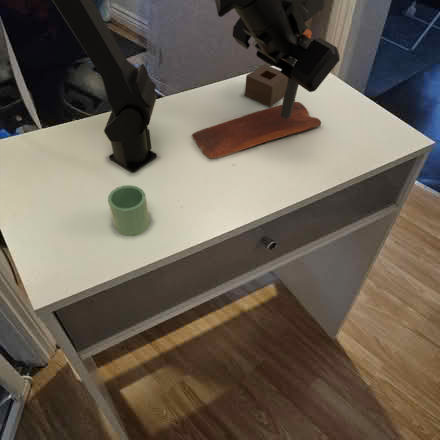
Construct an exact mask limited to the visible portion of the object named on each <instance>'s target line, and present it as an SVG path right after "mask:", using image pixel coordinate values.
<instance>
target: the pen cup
mask: <svg viewBox="0 0 440 440" xmlns="http://www.w3.org/2000/svg"><path fill="white" fill-rule="evenodd" d="M146 195H147V194H146V193H145V191H144V190H143V189H142V188H141V187H139V186H136V185H130V184H129V185H121V186H117V187H116V188H114V189H112V190H111V191H110V192H109V194H108V196H107V203H108V206H109V210H110V214H111V218H112V222H113V225H114V228H115V230H116V231H117V232H118V233H119V234H121V235H124V236H127V237H133V236H138V235H140V234H142V233H145V231H146V230H147V229H148V228H149V226H150V213H149V208H148V203H147V196H146Z"/></svg>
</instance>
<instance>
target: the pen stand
mask: <svg viewBox="0 0 440 440" xmlns="http://www.w3.org/2000/svg"><path fill="white" fill-rule="evenodd" d="M280 71H281V69H279V68H276V67H274V66H271V65H269V64H262V65H261V66H259V67H257V68H256V69H254V70H252V71H251V72H249V73H247V74H246V75H245V86H244V97H246V98H248V99H250V100H253V101H254V102H257V103H259V104H262V105H264V106H266V107H268V108H271V107H273V106H274V105H275V104H276V103H278V102H279V101H280V100H281V99H284V95H285V90H286V86H287V81H288V77H286V76H285V75H284V74H282V73H281V72H280Z"/></svg>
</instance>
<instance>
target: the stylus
mask: <svg viewBox="0 0 440 440" xmlns="http://www.w3.org/2000/svg"><path fill="white" fill-rule="evenodd" d="M312 33H313V32H312V30H310V29H308V28H307V29H306V30H305V32H304V33H303V34H302V35H305V36H307V37H308V38H310V39H311V37H312ZM298 36H300V35H298ZM296 45H297V44H296ZM299 86H300V85H299V84H298V83H297V82H296V81H295V80H291V79H289V78H288V81H287V86H286V90H285V95H284V97H283V100H282V104H281V105H282V109H281V113H280V116H281V117H282V118H286V119H288V118H290V117H291V114H292V110H293V106H294V102H296V97H297V94H298V88H299Z"/></svg>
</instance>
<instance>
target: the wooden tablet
mask: <svg viewBox="0 0 440 440" xmlns="http://www.w3.org/2000/svg"><path fill="white" fill-rule="evenodd" d="M281 109H282V104H278V105H275V106H271V107H268V108H265V109H262V110H257V111H255V112H252V113H248V114H246V115H242V116H240V117H235V118H233V119H230V120H227V121H224V122H221V123H218V124H214V125H212V126H209V127H206V128H203V129H200V130H198V131H195V132H194V133H192V134H191V137H192V139H193V140H194V142H195V143H196V145H197V146H198V148H200V150H201V152H202V153H203V154H204V155H205V156H206V157H207V158H208V159H217V158H222V157H226V156H228V155H231V154H234V153H236V152H240V151H242V150H245V149H248V148H251V147H254V146H258V145H261V144H263V143H266V142H269V141H273V140H276V139H279V138H284V137H287V136H290V135H294V134H298V133H302V132H305V131H309V130H312V129H315V128H317V127H320V126H322V121H321V119H319V118H318V117H313V116H310V114H309V111H308V109H307V107H306V106H305V105H304V104H303V103H301V102H299V101H294V106H293V110H292V114H291V117H290V118H288V119H286V118H282V117H281V116H280V113H281Z"/></svg>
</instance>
